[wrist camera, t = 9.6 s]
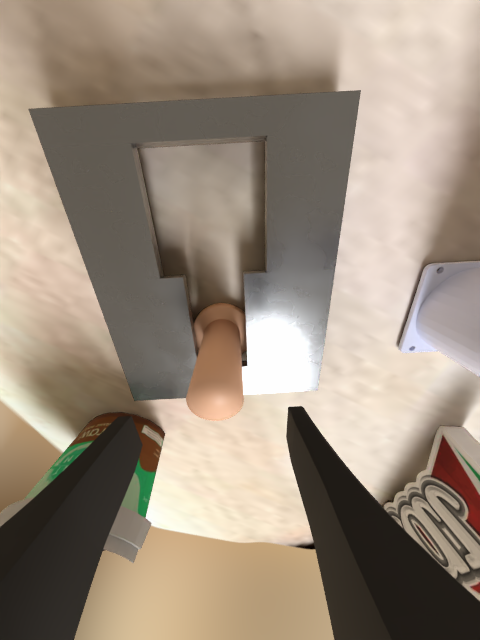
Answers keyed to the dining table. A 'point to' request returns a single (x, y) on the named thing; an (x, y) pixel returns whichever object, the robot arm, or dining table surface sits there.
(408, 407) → the dining table surface
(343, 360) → the dining table surface
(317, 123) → the keyhole plate
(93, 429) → the food container
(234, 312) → the peg
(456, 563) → the decorative sign
